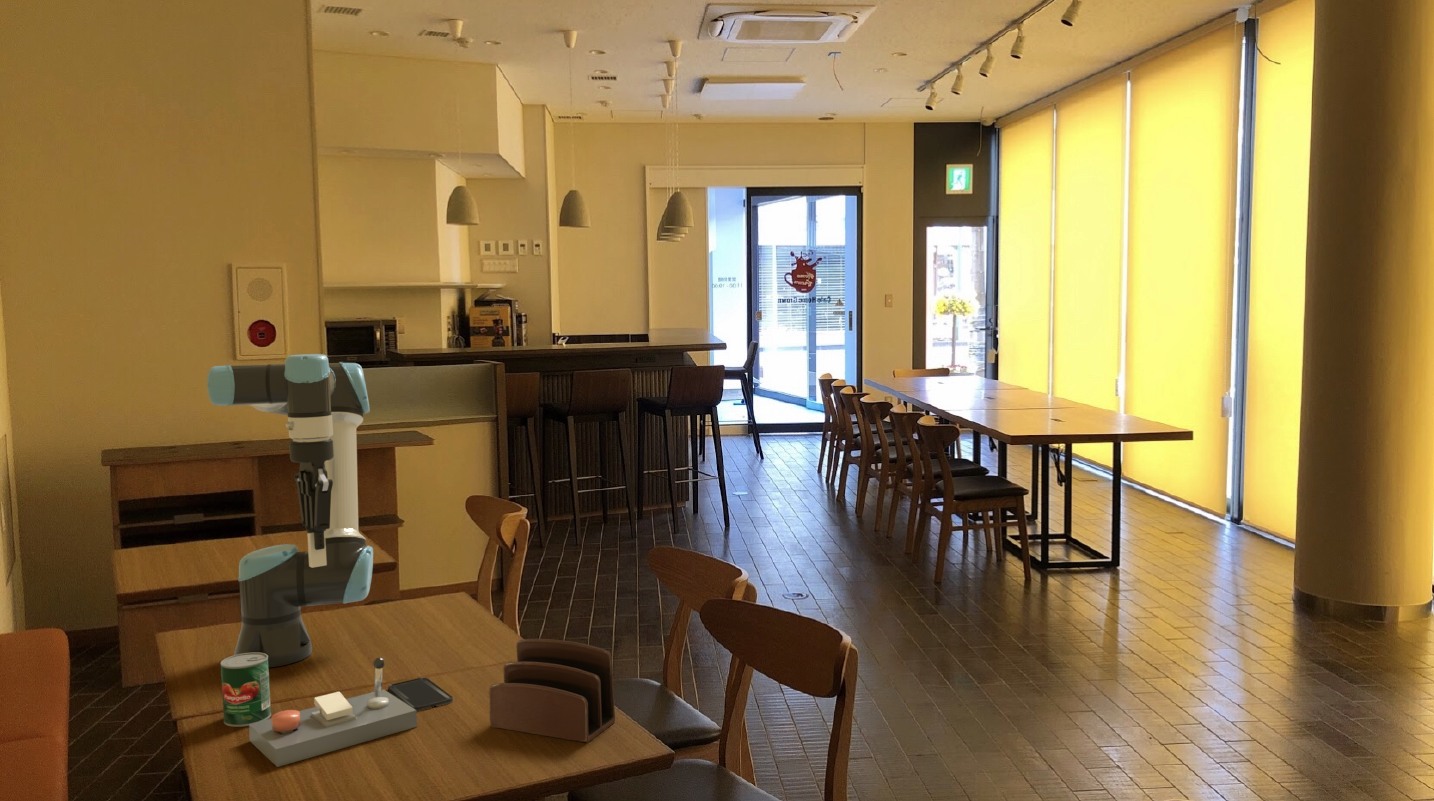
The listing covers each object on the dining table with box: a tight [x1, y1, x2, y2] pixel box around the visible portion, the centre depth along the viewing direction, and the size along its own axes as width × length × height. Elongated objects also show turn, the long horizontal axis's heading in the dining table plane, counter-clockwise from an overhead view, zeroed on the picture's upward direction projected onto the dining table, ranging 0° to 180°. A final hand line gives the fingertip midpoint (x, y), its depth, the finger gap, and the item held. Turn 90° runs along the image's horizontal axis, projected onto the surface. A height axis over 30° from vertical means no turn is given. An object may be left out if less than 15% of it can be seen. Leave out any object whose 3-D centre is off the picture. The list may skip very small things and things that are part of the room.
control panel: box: [248, 689, 418, 768], centre depth 185 cm, size 14×24×4 cm, turn 130°
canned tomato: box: [219, 652, 272, 728], centre depth 193 cm, size 8×8×11 cm
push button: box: [271, 709, 300, 735], centre depth 180 cm, size 4×4×5 cm
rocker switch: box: [313, 691, 353, 720], centre depth 185 cm, size 6×4×2 cm
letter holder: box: [488, 638, 616, 744], centre depth 187 cm, size 10×20×14 cm, turn 67°
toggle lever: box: [372, 657, 386, 697], centre depth 189 cm, size 2×2×7 cm
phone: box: [387, 676, 454, 712], centre depth 203 cm, size 8×1×15 cm
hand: (317, 565), depth 197 cm, fingers closed
